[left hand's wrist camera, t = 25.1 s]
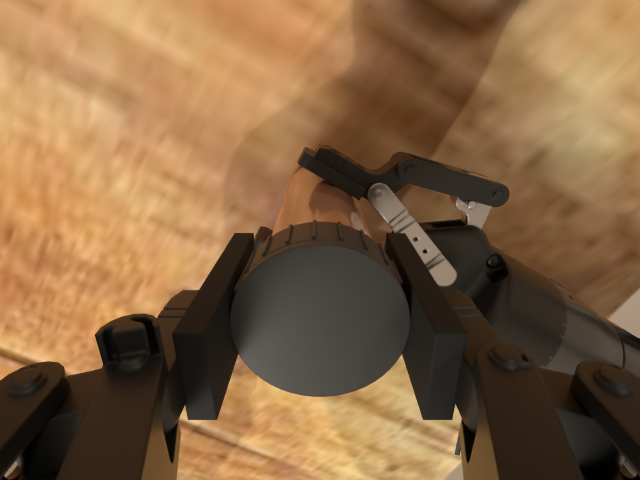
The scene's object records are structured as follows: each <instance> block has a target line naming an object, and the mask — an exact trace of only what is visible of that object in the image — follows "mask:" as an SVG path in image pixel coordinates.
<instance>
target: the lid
mask: <svg viewBox="0 0 640 480" xmlns="http://www.w3.org/2000/svg"><path fill="white" fill-rule="evenodd" d="M401 284H403V281H402V279H401V277H400V274H399V272H398V270H397V268H396V266H395V263H394V261H393V260H392V261H390V259H389V257H388V256H387V254H386V253H385V251H384V249H383V247H382V244H381V243H378V244H377V243H376V242H375V241H374V240H373V239H371V238H370V237H369V236H367V235H366V234H364V231H363V230H362V229H360V231H359V230H357V229H354V228H352V227H350V226H346V225H343V224H341V222H339V221H338V222H337V223H333V222H318V221H316V220H313V222H306V223H302V224H297V225H294V226H293V225H292V224H290V225H289V227H288V228H286V229H284V230H282V231H280V232H278V233H276V234H274V235H273V236H272V235H269V236H268V238H267V240H266V241H265V242H264V243H263V244H262V245H261V246H260V247H259V248H258V249H257V251H255V250H253V252H252V254H251V256H250V259H249V261H248V263H247V265H246V268H245V269H243V271H242V273H241V275H240V278H239V280H238V282H237V284H236V287H235V289H234V291H233V293H235V296H234V298H233V301H232V305H231V309H230V328H231V336H232V340H233V343H234V345H235V348H236V350H237V352H238V353H239V355H240V357H241V359H242V360H243V361H244V362H245V364H246V365H247V366H248V367H249V368H250V369H251V370H252V371H253V372H254V373H255V374H256V375H257V376H259V377H260V378H261V379H263V380H264V381H266V382H268V383H269V384H271V385H273V386H275V387H277V388H279V389H281V390H284V391H287V392H290V393H294V394H299V395H304V396H313V397H326V396H336V395H342V394H346V393H350V392H353V391H356V390H358V389H361V388H363V387H366V386H367V385H369V384H371V383H373V382H375V381H376V380H377V379H379V378H380V377H382V376H383V375H384V374H385V373H386V372H387V371H389V370H390V369H391V367H392V366H393V365H394V364H395V363H396V362H397V360H398V359H399V357H400V356H401V354H402V352H403V350H404V348H405V346H406V343H407V340H408V337H409V330H410V321H411V314H410V308H409V303H408V300H407V298H406V295H405V292H404V290H403V288H402V285H401Z"/></svg>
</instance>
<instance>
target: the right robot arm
mask: <svg viewBox="0 0 640 480" xmlns="http://www.w3.org/2000/svg"><path fill="white" fill-rule="evenodd" d="M298 164H299V165H301V166H302V167H303V168H305V169H307V170H309V171H310V172H312V173H314V174H315V175H317V176H319V177H320V178H322V179H324V180H326V181H327V182H329V183H331V184H332V185H334V186H336V187H338V188H339V189H341V190H343V191H345V192H346V193H348V194H350V195H351V196H353V197H355V198H356V199H358V200H360V198H361V197H364V198H366V199H368V200H369V201H370V203H371V204H372V205H373V206H374V207H375V209H376V210H377V211H378V212H379V213H380V215H381V216H382V217H383V218H384V219H385V221H386V222H387V223H388V224H389V226H390V227H391V228H392V230H393V231H392V233H406V235H407V237H408V238H409V240H410V241H411V243H412V245H413V246H414V248H415V249H416V251H417V252H418V254H419V256H420V257H421V259H422V260H423V262H424V264H425V265H426V267H427V268H428V270H429V272H430V273H431V275H432V276H433V278H434V280H435V281H436V283H437V284H438V286H439V287H440V289H458V290H459V291H461V292H462V293H464V294H465V295H467V296H468V297H470V299H471V300H472V301H473V303H474V304H475V305H476V307H477V309H479V311H480V312H481V313H482V315H483V317H485V319H486V320H487V321H488V323H489V324H490V325H491V327H492V328H493V329H494V331H495V332H496V333H497V335H498V336H499V337H500V339H501V340H502V341H503V342H504V343H508V344H512V345H514V346H516V347H518V348H520V349H522V350H524V351H525V352H526V353H528V354H529V355H530V356H531V357H532V358H533V359H534V361H535V362H536V364H537V366H538V367H541V368H545V369H549V370H553V371H558V372H563V373H567V374H572V375H574V373H575V370H576V367H577V365H578V364H579V363H581V362H582V361H587V360H596V361H604V362H608V363H611V364H615V365H617V366H620V367H622V368H623V369H625V370H627V371H629V372H631V373H633V374H634V375H636V376H637V377H639V378H640V339H639V338H637V337H635V336H634V335H632V334H630V333H629V332H627V331H625V330H624V329H622V328H620V327H619V326H617V325H616V324H614V323H612V322H611V321H609V320H607V319H606V318H604V317H602V316H601V315H599V314H598V313H597V312H596V311H595V310H593V309H592V308H591V307H590V306H589V305H587V304H586V303H585V302H584V301H583V300H581V299H580V298H578V297H577V296H575V295H573V294H572V293H570V292H569V291H567V290H565V289H564V287H562V286H561V285H560V284H559V283H557V282H555V281H553V280H551V279H548V278H546V277H544V276H542V275H541V274H539V273H537V272H536V271H534V270H532V269H531V268H529V267H527V266H526V265H524V264H522V263H521V262H519V261H517V260H516V259H514V258H512V257H511V256H509V255H507V254H506V253H504V252H503V251H501V250H499V249H498V248H496V247H494V246H493V245H491V244H490V243H489V241H488V239H487V236H486V234H485V233H484V232H483V231H482V228H483V226H484V223H485V221H486V219H487V217H488V215H489V213H490V211H491V209H492V207H499V206H501V205H503V204H504V203H505V202H506V201H507V200H508V197H509V190H508V188H507V187H506V186H505V185H503V184H500V183H498V182H496V181H494V180H492V179H490V178H488V177H486V176H484V175H480V174H477V173H474V172H470V171H467V170H463V169H460V168H456V167H453V166H449V165H446V164H442V163H439V162H436V161H432V160H429V159H425V158H422V157H418V156H415V155H411V154H408V153H404V152H398V153H395V154H394V155H393V156H392V157H391V159H390V161H389V162H387V163H386V164H385V165H383V166H382V167H381V168H379V169H376V170H369V169H366V168H364V167H363V166H361V165H360V164H358V163H356V162H355V161H353V160H351V159H350V158H348V157H346V156H345V155H343V154H341V153H340V152H338V151H336V150H335V149H333V148H332V147H330V146H325V145H319V146H318V148H317V150H316V151H315V152H314V151H313V150H311V149H309V148H307V147H305V148H304V150H303V152H302V153H301V155H300V157H299V159H298ZM407 183H410V184H413V185H417V186H420V187H424V188H427V189H431V190H435V191H438V192H442V193H445V194H449V195H451V196H450V201H451V203H452V204H453V205H454V206H455V207H456V208H457V209H459V210H460V211H461V213H462V218H461V219H458V220H447V221H436V222H425V223H417V221H416V220H415V219H414V218H413V216H412V215H411V214H410V213H409V211H408V210H407V209H406V208H405V206H404V205H403V204H402V203H401V201H400V200H399V199H398V198H397V196H396V195H395V194H394V193H396V192H397V191H398V190H399V189H401V188H402V187H403V186H405V185H406V184H407ZM271 234H272V230H271V229H269V228H267V227H260V228H259V230H258V232H257V234H256V236H255V238H254V246H255V251H257V249H258V248H259V247H260V246H261V245H262V244H263V243H264V242H265V241H266V240H267V238H268V236H269V235H271ZM383 249H384V251H385V249H386V243H385V246H384V248H383ZM623 464H624V466H625V467H626V468H627V469H628V471H629V472H630V473H631V474H632V475H633V476H636V475H637V473H636V471H635V470H634V469H633V468H632V467H631V465H630V464H629V463H628V462H627V460H626V459H625V460H624V462H623Z"/></svg>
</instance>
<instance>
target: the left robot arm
mask: <svg viewBox="0 0 640 480" xmlns="http://www.w3.org/2000/svg"><path fill="white" fill-rule="evenodd" d="M253 250H255V246H254V233H235V234H234V235H233V237H232V239H231V240H230V242H229V243H228V245H227V246H226V248H225V250H224V251H223V253H222V254H221V256H220V258H219V259H218V261H217V262H216V264H215V266H214V267H213V269H212V270H211V272H210V274H209V275H208V277H207V278H206V280H205V281H204V283H203V285H202V286H201V288H200V289H199V290H183V291H181V292H180V293H178V294H177V295H175V296H174V297H172V298H171V299H170V300H169V302H168V303H167V304H166V306H165V307H164V310H162V311H161V313H160V314H159V315H158V318H155V317H154V316H153V315H148V314H132V315H127V316H123V317H120V318H118V319H115V320H113V321H110V322H109V323H107V324H106V325H104V326H103V327H101V328H100V329H99V330H98V332H97V333H96V334H95V337H96V341H97V344H98V348H99V351H100V355H101V358H102V361H103V367H102V368H101V369H97V370H94V371H89V372H84V373H80V374H75V375H70V376H67V375H66V372H65V369H64V367H63V366H62V365H61V364H59V363H58V362H50V361H48V362H40V363H35V364H31V365H29V366H25V367H22V368H20V369H18V370H17V371H15V372H13V373H11V374H9V375H7V376H6V377H4V378H3V379H2V380H0V480H176V478H177V468H178V458H179V447H180V437H181V431H180V425H179V420H178V419H179V417H180V415H181V412H182V410H183V408H184V406H186V411H187V417H188V420H217V418H218V415H219V412H220V409H221V406H222V403H223V400H224V396H225V393H226V390H227V387H228V384H229V381H230V378H231V375H232V371H233V368H234V365H235V362H236V359H237V356H238V352H237V350H236V348H235V345H234V343H233V340H232V336H231V328H230V309H231V305H232V301H233V298H234V296H235V293H233V291H234V289H235V287H236V284H237V282H238V280H239V278H240V275H241V273H242V271H243V269H245V268H246V265H247V263H248V261H249V259H250V256H251V254H252V252H253ZM385 253H386V254H387V256H388V257H389V259H390V261H392V260H393V261H394V263H395V266H396V268H397V270H398V272H399V274H400V277H401V279H402V281H403V284H401V285H402V288H403V290H404V292H405V295H406V298H407V300H408V303H409V308H410V314H411V321H410V330H409V337H408V340H407V343H406V346H405V348H404V350H403V352H402V355H403V358H404V361H405V365H406V368H407V371H408V374H409V377H410V380H411V383H412V386H413V390H414V393H415V396H416V399H417V402H418V405H419V408H420V411H421V415H422V418H423V420H452V418H453V413H454V407H455V403H456V406H457V408H458V410H459V412H460V415H461V417H462V420H461V425H460V430H459V435H458V440H457V445H456V450H455V455H460V451H461V457H462V467H463V477H464V480H640V378H639V377H637V376H636V375H634V374H633V373H631V372H629V371H627V370H625V369H623V368H622V367H620V366H617V365H615V364H611V363H608V362H604V361H596V360H587V361H582V362H581V363H579V364H578V365H577V367H576V370H575V373H574V375H572V374H567V373H563V372H558V371H553V370H549V369H545V368H541V367H538V366H537V364H536V362H535V361H534V359H533V358H532V357H531V356H530V355H529V354H528V353H526V352H525V351H524V350H522V349H520V348H518V347H516V346H514V345H512V344H508V343H504V342H503V341H502V340H501V339H500V337H499V336H498V335H497V333H496V332H495V331H494V329H493V328H492V327H491V325H490V324H489V323H488V321H487V320H486V319H485V317H483V315H482V313H481V312H480V311H479V309H477V307H476V305H475V304H474V303H473V301H472V300H471V299H470V297H468V296H467V295H465V294H464V293H462V292H461V291H459V290H458V289H440V287H439V286H438V284H437V283H436V281H435V280H434V278H433V276H432V275H431V273H430V272H429V270H428V268H427V267H426V265H425V264H424V262H423V260H422V259H421V257H420V256H419V254H418V252H417V251H416V249H415V248H414V246H413V245H412V243H411V241H410V240H409V238H408V237H407V235H406V233H387V236H386V249H385ZM625 459H626V460H627V462H628V463H629V464H630V465H631V467H632V468H633V469H634V470H635V471H636V473H637V475H636V476H633V475H632V474H631V473H630V472H629V471H628V469H627V468H626V467H625V466H624V464H623V462H624V460H625ZM15 461H17V463H18V465H17V467H16V468H15V469H14V470H13V472H12V473H11V474H10V475H9V476H7V477H4V474H5V473H6V472H7V471H8V469H9V468H10V467H11V466H12V464H13V463H14V462H15Z"/></svg>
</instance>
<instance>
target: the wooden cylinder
mask: <svg viewBox="0 0 640 480" xmlns="http://www.w3.org/2000/svg"><path fill="white" fill-rule="evenodd" d="M313 220H316V221H318V222H333V223H337V222H338V221H339V222H341V224H343V225H346V226H350V227H352V228H354V229H357V230H359V231H360V229H362V230H363V231H364V234H366V235H367V236H369V237H370V238H371V236H370V233H369V231H368V228H367V225H366V222H365V220H364V217H363V214H362V211H361V209H360V206H359V203H358V200H357V199H356V198H355V197H353V196H351V195H350V194H348V193H346V192H345V191H343V190H341V189H339V188H338V187H336V186H334V185H332V184H331V183H329V182H327V181H326V180H324V179H322V178H320V177H319V176H317V175H315V174H314V173H312V172H310V171H309V170H307V169H305V168H303V167H301V168H300V169H299V170H298V171H297V172H296V173H295V174H294V175H293V177H292V179H291V181H290V184H289V187H288V189H287V192H286V195H285V198H284V200H283V203H282V206H281V209H280V212H279V214H278V217H277V220H276V223H275V225H274V228H273V231H272V234H271V235H272V236H273V235H274V234H276V233H278V232H280V231H282V230H284V229H286V228H288V227H289V225H290V224H292V225H293V226H294V225H297V224H302V223H306V222H313Z"/></svg>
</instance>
